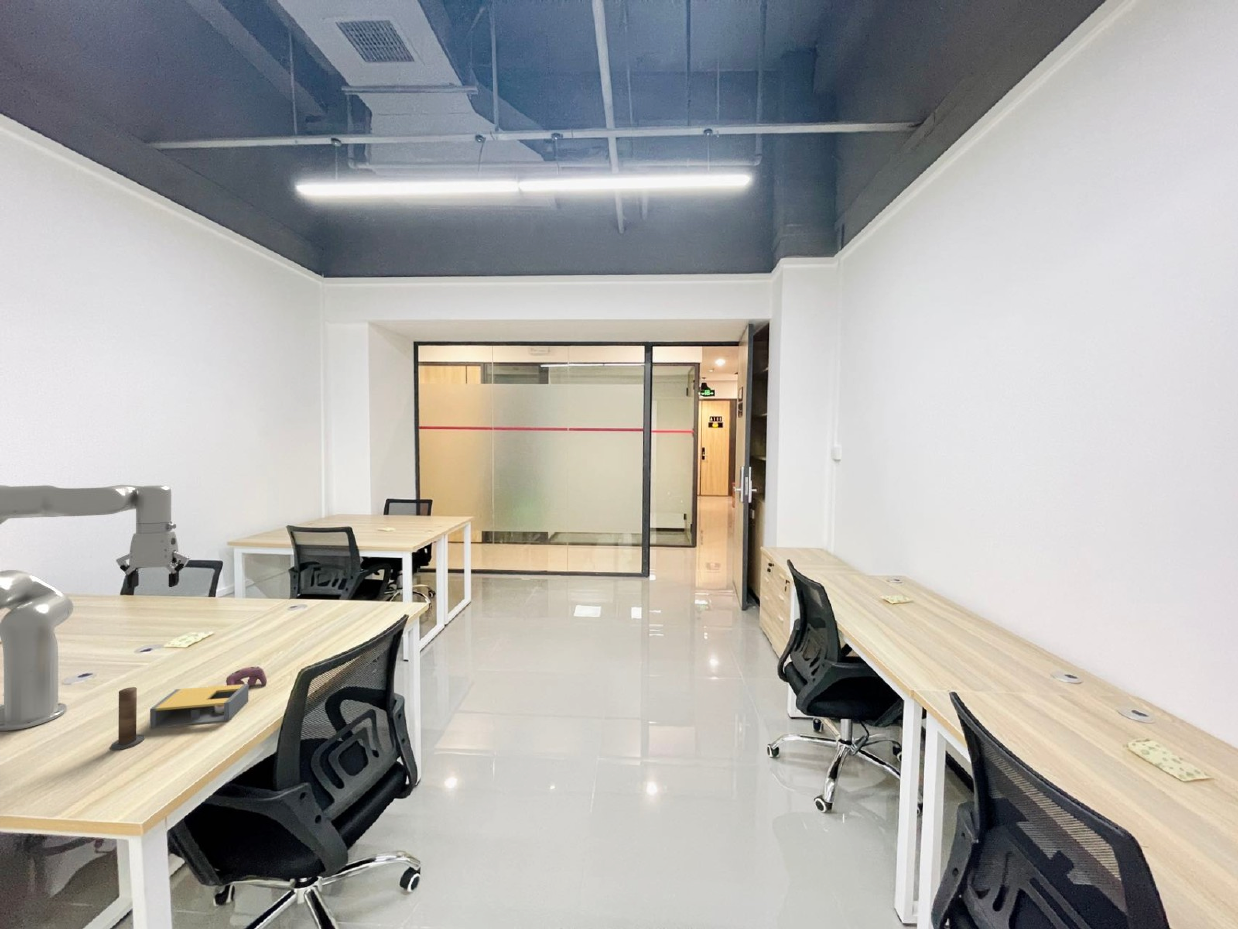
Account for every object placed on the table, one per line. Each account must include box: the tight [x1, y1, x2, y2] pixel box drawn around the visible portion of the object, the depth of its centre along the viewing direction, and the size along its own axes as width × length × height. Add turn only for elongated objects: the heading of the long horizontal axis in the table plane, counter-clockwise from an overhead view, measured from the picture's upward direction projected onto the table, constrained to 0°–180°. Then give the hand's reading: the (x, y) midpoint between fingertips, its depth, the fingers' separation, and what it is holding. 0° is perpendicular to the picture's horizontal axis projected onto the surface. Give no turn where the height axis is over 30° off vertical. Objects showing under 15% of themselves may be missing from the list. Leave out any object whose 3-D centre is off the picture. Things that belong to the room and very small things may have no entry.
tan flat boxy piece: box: [149, 683, 250, 729], centre depth 139 cm, size 18×11×5 cm, turn 104°
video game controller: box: [225, 666, 268, 687], centre depth 155 cm, size 10×5×7 cm, turn 142°
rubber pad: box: [110, 734, 145, 751], centre depth 125 cm, size 6×6×1 cm
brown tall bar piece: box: [117, 686, 138, 745], centre depth 125 cm, size 3×3×13 cm
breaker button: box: [215, 705, 224, 713], centre depth 140 cm, size 4×4×2 cm
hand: (153, 586), depth 146 cm, fingers open, 9 cm apart
